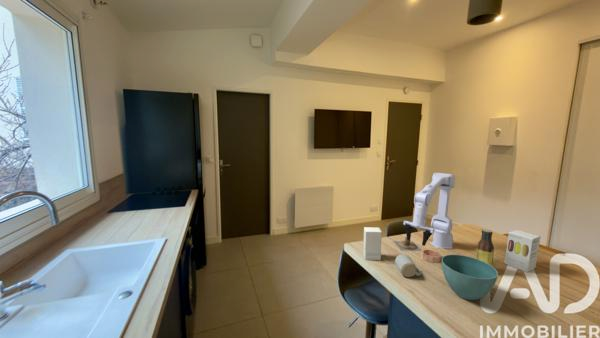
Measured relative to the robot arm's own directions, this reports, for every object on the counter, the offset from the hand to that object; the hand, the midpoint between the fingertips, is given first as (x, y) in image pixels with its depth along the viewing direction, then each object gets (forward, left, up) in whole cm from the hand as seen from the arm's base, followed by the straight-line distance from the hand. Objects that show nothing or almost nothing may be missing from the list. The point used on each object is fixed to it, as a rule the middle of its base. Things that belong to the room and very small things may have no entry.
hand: (415, 242), depth 118 cm
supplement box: (-52, +1, -11) cm, 53 cm away
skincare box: (+21, -4, -11) cm, 24 cm away
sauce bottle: (-30, +6, -11) cm, 33 cm away
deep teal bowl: (-9, +24, -11) cm, 28 cm away
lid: (-4, -18, -10) cm, 21 cm away
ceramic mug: (+8, +10, -11) cm, 17 cm away
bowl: (-10, -4, -11) cm, 15 cm away
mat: (-4, -18, -11) cm, 21 cm away
